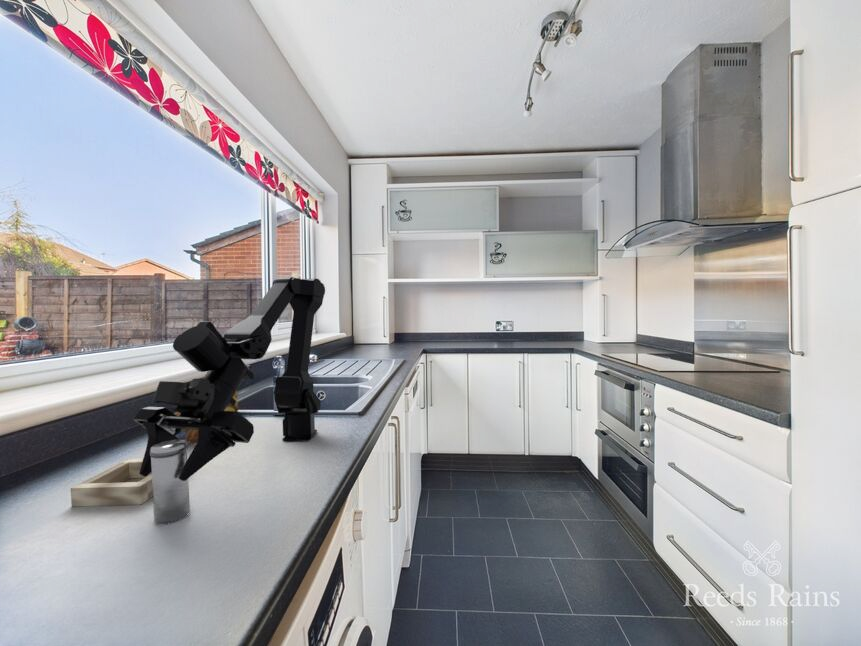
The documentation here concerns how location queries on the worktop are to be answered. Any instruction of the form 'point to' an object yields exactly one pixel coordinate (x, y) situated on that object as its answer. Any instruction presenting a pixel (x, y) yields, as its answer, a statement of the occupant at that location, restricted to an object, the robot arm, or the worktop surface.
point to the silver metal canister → (169, 481)
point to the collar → (114, 487)
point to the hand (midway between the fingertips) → (161, 477)
